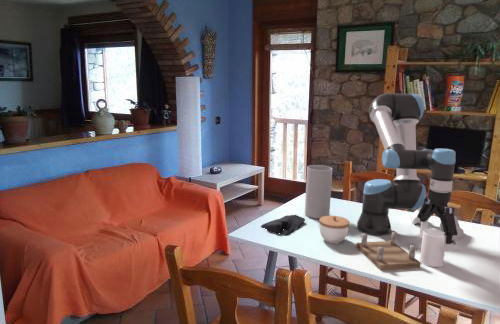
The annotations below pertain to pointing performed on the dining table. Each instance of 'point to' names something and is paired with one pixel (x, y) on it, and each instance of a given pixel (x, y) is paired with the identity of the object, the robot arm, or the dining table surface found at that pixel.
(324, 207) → the cylinder vase
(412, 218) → the bust
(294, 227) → the dark slate chunk
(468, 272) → the dining table surface
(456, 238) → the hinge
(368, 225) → the robot arm
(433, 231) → the mug
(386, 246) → the peg board
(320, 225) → the lidded bowl
